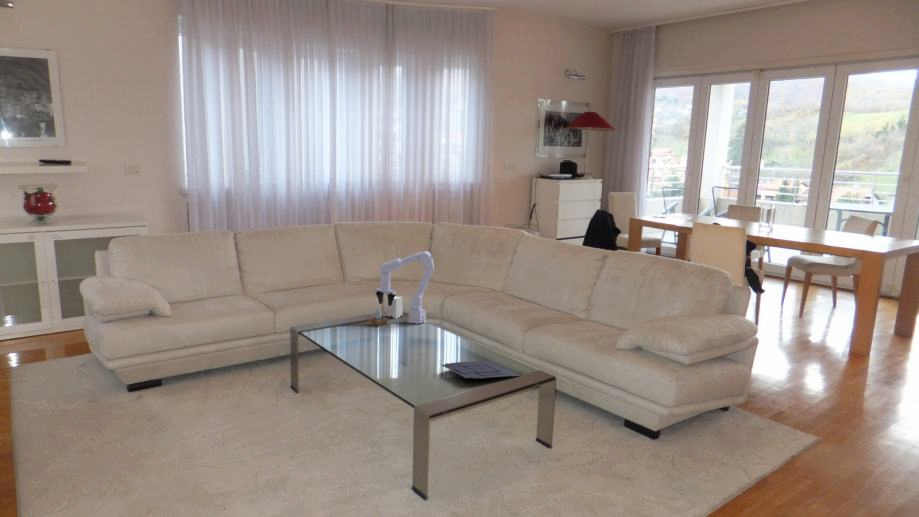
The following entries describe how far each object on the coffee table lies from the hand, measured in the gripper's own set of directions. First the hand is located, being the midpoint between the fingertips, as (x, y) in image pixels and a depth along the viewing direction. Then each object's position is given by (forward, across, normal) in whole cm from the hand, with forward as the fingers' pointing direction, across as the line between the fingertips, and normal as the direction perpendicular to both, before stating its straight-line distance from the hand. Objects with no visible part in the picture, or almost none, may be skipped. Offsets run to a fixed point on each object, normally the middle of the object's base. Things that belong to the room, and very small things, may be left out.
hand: (385, 304), depth 358 cm
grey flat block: (+11, +98, -46) cm, 109 cm away
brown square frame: (+10, +2, -9) cm, 14 cm away
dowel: (+10, +2, -9) cm, 14 cm away
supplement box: (+11, -3, +12) cm, 16 cm away
